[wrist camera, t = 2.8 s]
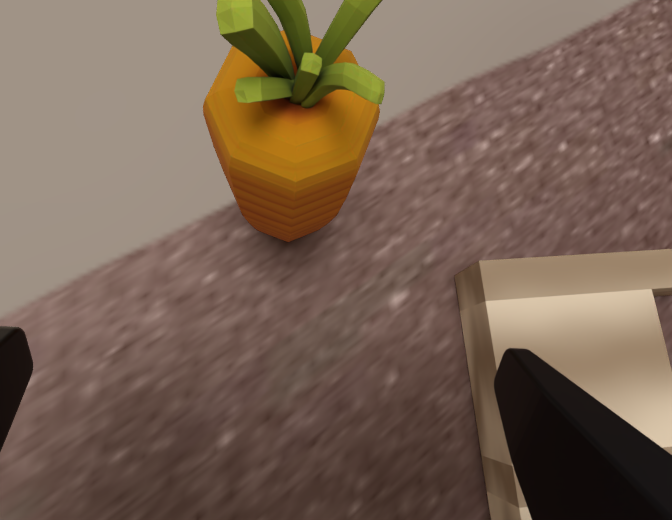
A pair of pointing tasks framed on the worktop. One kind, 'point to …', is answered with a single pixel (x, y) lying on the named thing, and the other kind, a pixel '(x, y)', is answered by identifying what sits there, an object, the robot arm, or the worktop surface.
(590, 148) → the worktop surface
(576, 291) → the socket board
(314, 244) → the worktop surface
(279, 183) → the carrot
